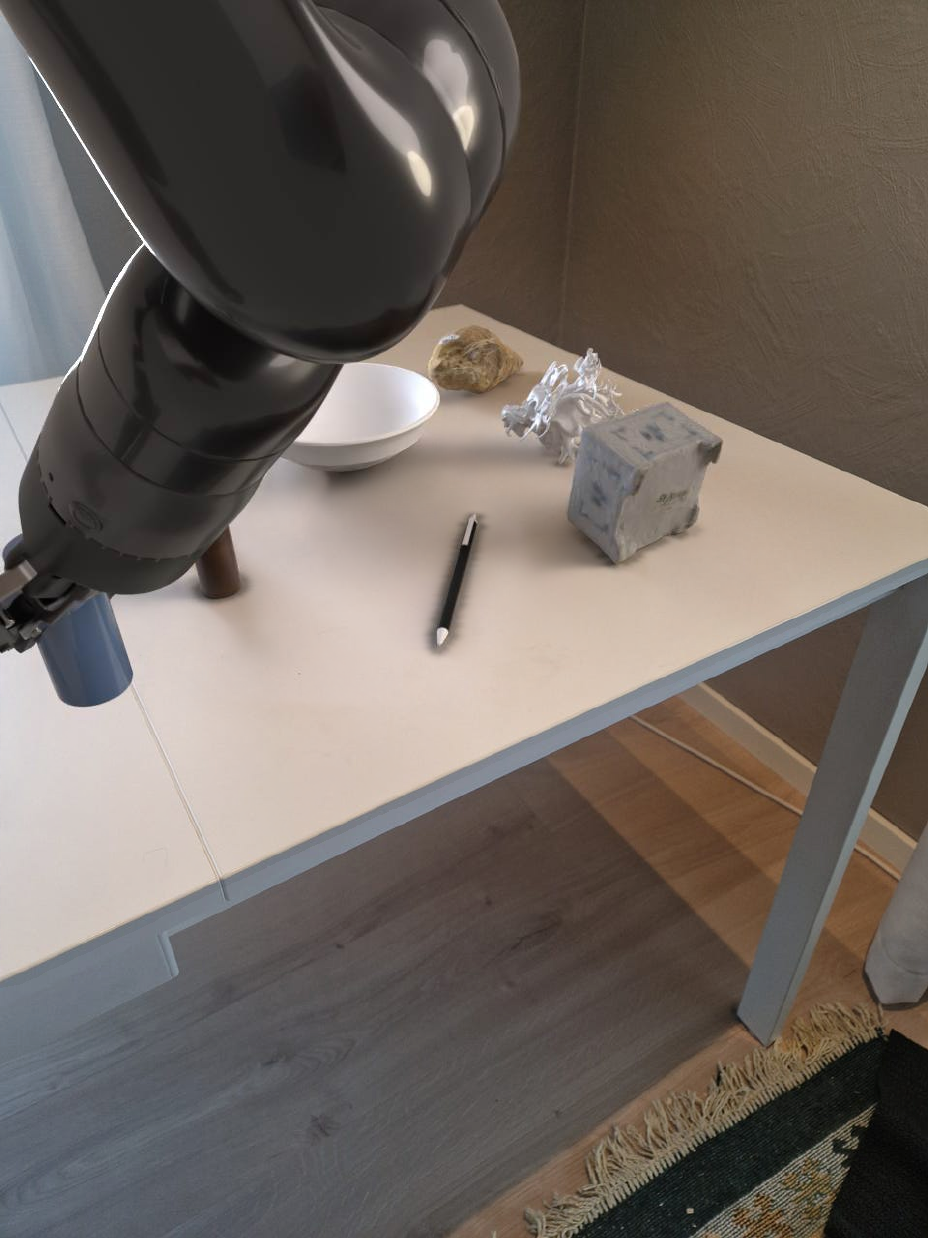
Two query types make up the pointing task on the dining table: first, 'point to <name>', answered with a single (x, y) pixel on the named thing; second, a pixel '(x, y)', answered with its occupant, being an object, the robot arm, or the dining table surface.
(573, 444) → the figurine
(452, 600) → the pen
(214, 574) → the pegs
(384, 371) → the bowl
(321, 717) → the dining table surface
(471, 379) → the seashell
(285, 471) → the dining table surface
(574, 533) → the dining table surface
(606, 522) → the incense holder
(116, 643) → the cylinder
